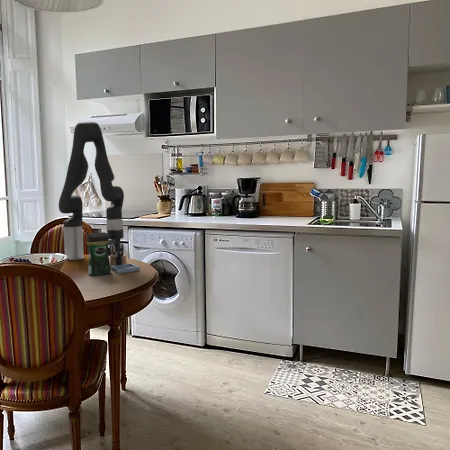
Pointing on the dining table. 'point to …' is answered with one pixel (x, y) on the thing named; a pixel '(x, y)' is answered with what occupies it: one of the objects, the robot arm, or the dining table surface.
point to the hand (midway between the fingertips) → (117, 264)
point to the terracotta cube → (125, 259)
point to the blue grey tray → (125, 268)
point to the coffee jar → (98, 253)
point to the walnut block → (113, 260)
